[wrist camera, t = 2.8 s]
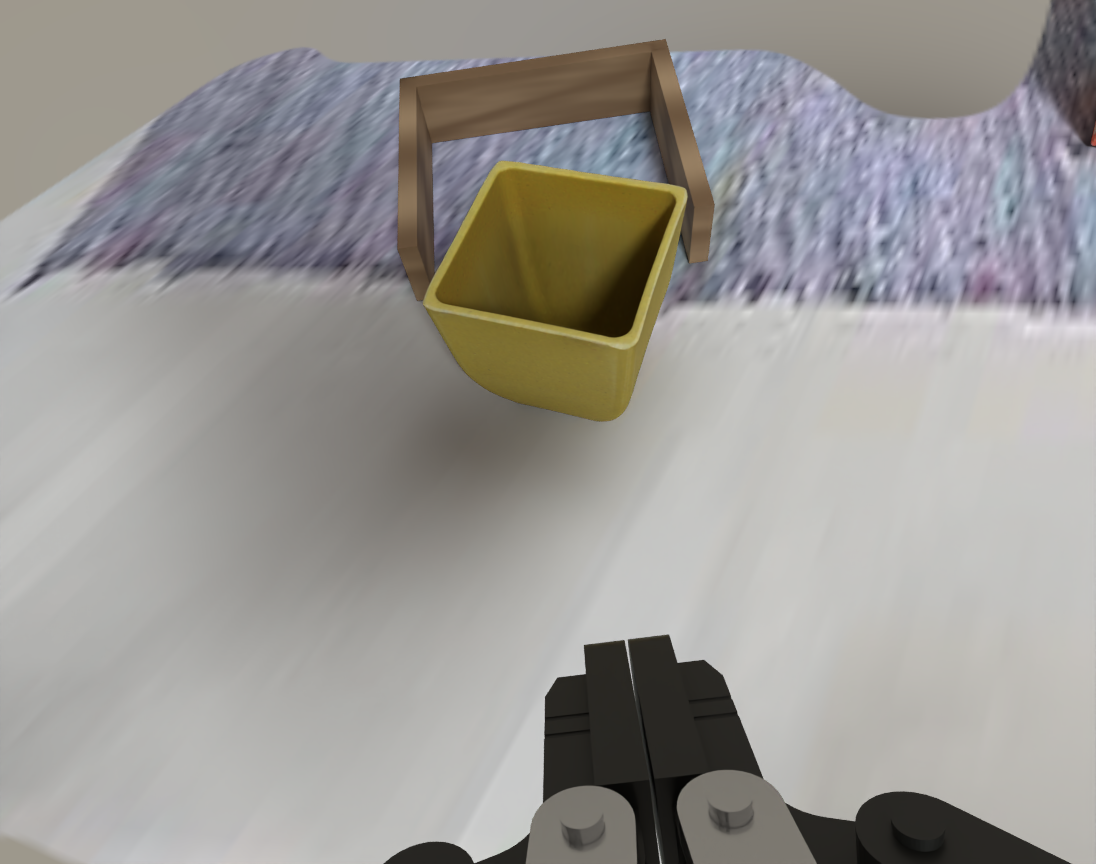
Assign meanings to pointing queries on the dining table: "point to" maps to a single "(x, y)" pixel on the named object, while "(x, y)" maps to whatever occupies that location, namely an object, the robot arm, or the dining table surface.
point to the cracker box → (1094, 137)
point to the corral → (538, 101)
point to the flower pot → (558, 285)
